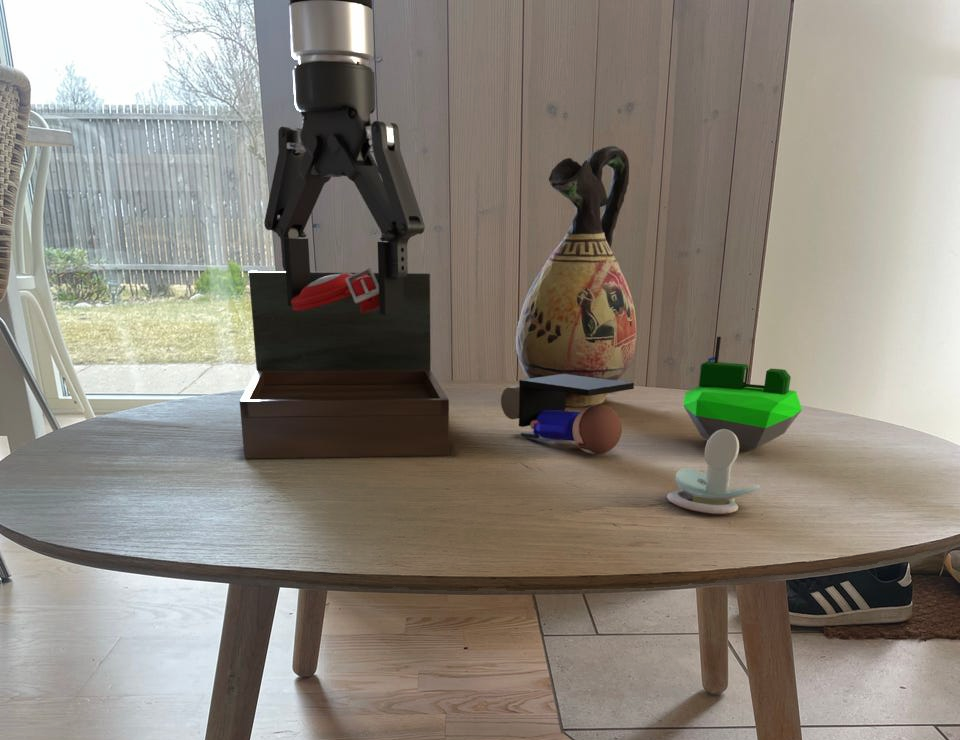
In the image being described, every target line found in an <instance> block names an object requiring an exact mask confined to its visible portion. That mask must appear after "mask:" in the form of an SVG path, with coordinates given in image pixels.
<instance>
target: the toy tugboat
mask: <svg viewBox="0 0 960 740" xmlns="http://www.w3.org/2000/svg"><path fill="white" fill-rule="evenodd" d="M721 341H722V336H716V345H715V351H714V352H715V353H714V356H712V357H708V358H707V361H705V362H703V363H702V364H701V365H700V372H699V380H698V386H697V387H694V388H692V389H690V390H688V391H686V392H685V393H684V399H683V404H682V405H683V406H682V407H684V409H685V411H686V413H687V414H688V416H689V418H690V419H691V421H692V423H693V424H694V426H695V428H696V429H697V432H698V433H699V434H700V436H701V437H703V438H704V439H705V440H706V441H708V440H709V438H710V437H711V436H712V434H714V433H715V432H716V431H718V430H721V429H727V430H730V431H732V432H733V433H734V434H735V435H736V437H737V439H738V441H739V452H742V453H744V452H748V451H752V450H755V449H758V448H759V447H762V446H763V445H765V444H767V443H769V442H771V441H774V440H776V439H777V438H779V437H781V436H782V435H784V434H785V433H787V431H788V429H789V428H790V426H791V425H792V424H793V422H794V421H795V420H796V418H797V417H798V416H799V414H800V413H801V412H802V411H803V407H802V404H801V402H800V399H799V395H798V393H797V391H796V390H790V384H791V379H792V377H791V376H790V374H789V373H788V371H787V370H786V369H782V368H769V369H768V370H766V371H765V377H764V385H763V384H762V385H761V384H752V383H751V384H750V383H747V382H748V377H749V376H748V374H749V368H750V367H749V365H748V364H745V363H735V362H723V361H720V362H719V357H720V348H721Z"/></svg>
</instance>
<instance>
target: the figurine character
mask: <svg viewBox="0 0 960 740" xmlns="http://www.w3.org/2000/svg"><path fill="white" fill-rule="evenodd" d="M518 382H519V385H517V386H510V387H506V388H505V389H504V390H503V391H502V393H501V397H500V405H501V409H502V412H503V414H504V415H505V416H506V418H508V419H510V420H518V427H521V428H524V427H529V426H530V429H531V430H532V432H526V431H521V432H520V435H521V437H522V438H531V439H539V438H540V437H541V438H543V439H550V440H551V439H552V440H560V441H570V442H575V444H576V446H577V447H578V448H579V449H580V450H581V451H583V452H584V453H586V454H590V455H603V454H605V453H608V452H609V451H611V450H613V449H614V448H615V447H616V446H617V445H618V443H619V442H620V440H621V437H622V433H623V432H622V431H623V424H622V420H621V418H620V416H619V415H618V413H617V412H616V411H615V410H614V409H612V408H611V407H610V406H607V405H603V404H598V405H588V406H586V407H585V408H583V409H582V410H581V411H572V410H566V407H567V406H566V393H571V394H578V395H585V396H592V395H598V394H605V393H608V394H611V393H617V392H622V391H629V390H634V389H635V387H634V386H635V383H634V382H630V381H622V380H617V381H616V380H608V379H600V378H592V377H584V376H576V375H568V374H558V375H551V376H544V377H536V378H529V379H528V378H523V379H519V380H518Z"/></svg>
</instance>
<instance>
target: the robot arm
mask: <svg viewBox="0 0 960 740" xmlns="http://www.w3.org/2000/svg"><path fill="white" fill-rule="evenodd" d="M288 9H289V10H288V11H289V30H290V31H289V33H290V52H291V53H290V54H291V57H292V58H293V59H294V60H296V61H297V62H298V64H295V66H294V68H293V69H292V81H293V95H294V96H293V97H294V106H295V108H296V110H297V111H299V113H300V114H301V116H302V124H301V128H298V127H289V126H288V127H287V126H280V127H279V128H278V132H277V139H278V142H277V143H278V144H277V145H278V147H277V148H278V153H277V158H276V162H275V167H274V173H273V177H272V183H271V187H270V191H269V197H268V202H267V205H266V206H267V207H266V212H265V216H264V224H263V225H264V227H265V229H266V230H267V231H272V232H274V233H275V234H276V235H277V236H278V237H279V239H280V248H281V251H280V252H281V263H282V264H281V265H282V268H283V272H286V282H287V297H288V306H292V303H291V300H292V299H293V298H294V297H295V296H297V295H299V294H300V293H301V291H302V289H303V288H304V287H305V286H306V285H308V284H309V283H311V279H310V272H311V264H310V248H309V247H310V246H309V238H308V237H307V234H306V232H305V231H304V230H305V228H306V227H307V224H308V221H309V220H310V217H311V215H312V213H313V211H314V209H315V206H316V203H317V202H318V199H319V197H320V195H321V193H322V190H323V188H324V187H325V184H327V183H328V182H330V180H331V178H342V177H347V179H349V180H350V181H352V182H353V183H354V186H355V187H356V189H357V191H358V192H359V194H360V196H361V199H363V202H364V203H365V205H366V206H367V209H368V210H369V212H370V214H371V216H372V218H373V219H374V221H375V223H376V225H377V226H378V228H379V230H380V232H381V234H382V235H381V237H379V240H380V241H377V269H378V270H377V273H378V276H379V311H380V314H382V315H389V314H399V313H404V297H403V277H406V276H407V273H409V271H408V269H409V266H408V242H409V240H410V239H411V238H412V237H414V236H417V235H422V234H423V233H424V232H425V229H426V228H425V227H426V225H425V222H424V219H423V215H422V213H421V210H420V207H419V204H418V201H417V197H416V194H415V191H414V188H413V185H412V182H411V179H410V177H409V172H408V171H407V170H408V169H407V167H406V165H405V161H404V158H403V154H402V152H401V143H400V131H399V126H398V124H396V123H395V122H388V121H380V120H374V121H373V122H372V120H371V114H373V113H374V112H375V110H376V82H375V81H376V80H375V79H376V78H375V72H374V71H373V68H372V67H370V66H368V64H369V63H371V62H372V61H373V60H374V27H373V26H374V24H373V22H374V21H373V20H374V19H373V0H288ZM371 148H372V151H373V156H374V157H373V156H372V154H371V152H370V150H371ZM278 216H279V217H278Z"/></svg>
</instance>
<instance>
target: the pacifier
mask: <svg viewBox="0 0 960 740" xmlns="http://www.w3.org/2000/svg"><path fill="white" fill-rule="evenodd" d="M704 447H705V448H704V458H705V462H706V464H707V471H706V474H705V473H704V472H702V471H699V470H696V469H693V468H688V467H684V468H680V469H678V470H677V472H676V474H675V483H676V485H677V486H678V487H679V489H680V490H676V491H672V492H669V493H668V495H667V499H668V500H669V502H671V504H674V505H676V506H678V507H681V508H683V509H687V510H690V511H695V512H700V513H707V514H717V515H718V514H719V515H721V514H723V515H724V514H732V513H735V512H736V511H738V510H739V505H738V504H737V502H735V501H736V498H740V497H744V496H747V495H750V494H752V493H754V492H756V491H758V490H760V486H761V485H760V484H757V485H753V486H750V487H746V488H737V489H736V488H735V489H729V485H730V478H731V469H732V465H733V464H734V463H735V461H736V460H737V457H738V455H739V453H740V451H739V441H738V439H737V437H736V435H735V434H734V433H733V432H732V431H730V430H727V429H721V430H718V431H716V432H715V433H714V434H712V436H711V437H710V438H709V440H707V442H706V444H705V446H704ZM699 482H700V483H699ZM701 483H702V484H701ZM689 499H692V500H689Z"/></svg>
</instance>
